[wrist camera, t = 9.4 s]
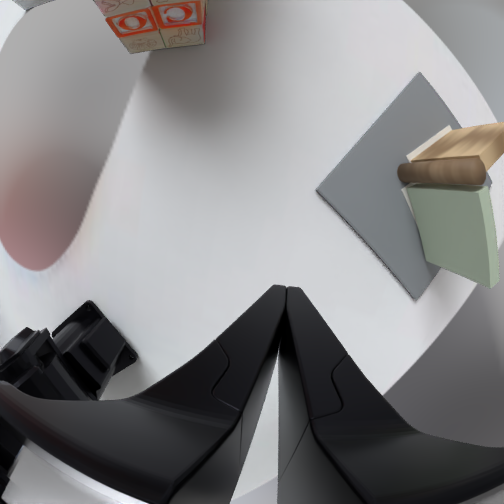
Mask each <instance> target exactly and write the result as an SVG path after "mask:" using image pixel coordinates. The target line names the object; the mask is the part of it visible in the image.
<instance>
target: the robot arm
mask: <svg viewBox="0 0 504 504" xmlns="http://www.w3.org/2000/svg"><path fill="white" fill-rule="evenodd" d="M88 305H89V306H90V307H91V309H90V308H89V307H88ZM56 334H57V335H56ZM52 337H53V339H52V338H51V337H50V333H49V331H48V329H47V328H45V329H43V330H41V331H39V330H37V331H33V330H32V329H30V328H28V327H26V328H25V329H23V330H22V331H21V332H19V333H18V334H17V335H16V336H15V337H13V338H12V339H11V340H10V341H9V342H8V343H7V344H6V345H5V346H4V348H3V349H2V350H1V351H0V504H230V501H231V498H232V496H233V493H234V490H235V488H236V485H237V482H238V479H239V476H240V474H241V471H242V468H243V465H244V462H245V459H246V456H247V454H248V451H249V448H250V445H251V442H252V439H253V436H254V433H255V429H256V426H257V423H258V420H259V417H260V414H261V411H262V407H263V404H264V401H265V398H266V394H267V391H268V388H269V384H270V381H271V377H272V374H273V370H274V367H275V363H276V360H277V356H278V381H279V441H278V497H277V504H504V447H501V448H499V447H497V448H496V447H484V446H478V445H473V444H468V443H463V442H458V441H454V440H449V439H445V438H441V437H437V436H433V435H429V434H425V433H423V432H420V431H418V430H416V429H415V428H413V427H412V426H411V425H409V424H408V423H407V422H406V421H405V420H404V419H403V418H402V417H401V416H400V415H399V413H398V412H396V410H395V409H394V408H393V407H392V406H391V405H390V404H389V403H388V402H387V400H386V399H385V398H384V397H383V396H382V395H381V394H380V393H379V392H378V390H377V389H376V388H375V387H374V386H373V385H372V384H371V382H370V381H369V380H368V379H367V378H366V377H365V375H364V374H363V373H362V371H361V370H360V369H359V368H358V366H357V365H356V364H355V362H354V361H353V359H352V358H351V357H350V355H348V353H347V351H346V350H345V348H344V347H343V346H342V344H341V343H340V341H339V340H338V339H337V337H336V336H335V334H334V333H333V332H332V330H331V329H330V327H329V326H328V325H327V323H326V322H325V320H324V319H323V318H322V316H321V315H320V314H319V312H318V311H317V309H316V308H315V307H314V305H313V304H312V303H311V301H310V300H309V298H308V297H307V296H306V294H305V293H304V292H303V290H302V289H301V288H300V287H291V286H289V287H287V288H286V286H283V285H272V286H271V287H270V288H269V289H268V290H267V291H266V292H265V293H264V294H263V295H262V296H261V297H260V298H259V299H258V300H257V301H256V302H255V303H254V304H253V305H252V306H251V307H249V308H248V309H247V310H246V311H245V312H244V313H243V314H242V315H241V316H240V317H239V318H238V319H237V320H236V321H235V322H233V323H232V324H231V325H230V326H229V327H228V328H227V329H226V330H225V331H224V332H223V333H222V334H220V335H219V336H218V337H217V338H216V340H214V341H213V342H211V343H210V344H209V345H208V346H207V347H206V348H205V349H204V350H202V351H201V352H200V353H199V354H198V355H196V356H195V357H194V358H192V359H191V360H190V361H188V362H187V363H185V364H184V365H183V366H181V367H180V368H178V369H177V370H175V371H174V372H172V373H171V374H169V375H168V376H166V377H165V378H163V379H162V380H160V381H158V382H157V383H155V384H154V385H152V386H151V387H149V388H147V389H146V390H144V391H142V392H141V393H139V394H137V395H134V396H132V397H129V398H126V399H121V400H100V401H99V399H100V397H101V395H102V394H103V392H104V390H105V388H106V386H107V384H108V382H109V380H110V379H111V377H112V376H113V375H115V374H116V373H118V372H120V371H121V370H123V369H125V368H126V367H128V366H130V365H131V364H133V363H134V362H136V360H137V358H138V355H137V354H136V352H135V351H134V350H133V349H132V348H131V347H130V346H129V345H128V343H127V342H126V341H125V339H124V338H123V337H122V336H121V335H120V334H119V333H118V331H117V330H116V329H115V328H114V327H113V325H112V324H111V323H110V322H109V321H108V319H107V318H105V316H104V315H103V314H102V313H101V311H100V310H99V309H98V308H97V306H96V305H95V304H94V303H93V302H92V301H90V300H88V301H86V302H85V303H84V304H83V305H82V306H81V307H79V308H78V309H77V310H76V311H75V312H74V313H73V314H72V315H70V316H69V317H68V318H67V319H66V320H65V321H64V322H63V323H62V324H61V325H59V326H58V327H57V328H56V329H55V330H54V331H53V332H52ZM278 350H279V354H278ZM130 355H131V356H133V357H134V358H132V357H130Z"/></svg>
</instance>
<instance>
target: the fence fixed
mask: <svg viewBox="0 0 504 504" xmlns="http://www.w3.org/2000/svg"><path fill="white" fill-rule="evenodd" d="M503 153H504V122H500V123H493V124H486V125H479V126H473V127H467V128H461V129H456V130H451V131H450V132H448V133H447V134H446V135H444V136H443V137H442V138H440V139H439V140H438V141H436V142H435V143H434V144H432V145H431V146H430V147H428V148H427V149H425V150H424V151H423V152H421V153H420V154H419V155H417V156H416V157H415V158H413V159H412V160H410V161H411V163H403V164H400V165H399V167H398V169H397V175H398V178H399V179H400V181H402V182H404V183H442V184H466V185H483V184H484V182H485V180H486V172H487V171H488V170H489V168H490V167H491V166H492V165H493V164H494V163H495V162H496V161H497V160H498V159H499V158H500V156H501V155H502V154H503Z"/></svg>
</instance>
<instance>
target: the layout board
mask: <svg viewBox="0 0 504 504" xmlns="http://www.w3.org/2000/svg"><path fill="white" fill-rule="evenodd" d="M461 128H462V127H461V126H460V124H459V123H458V121H457V120H456V118H455V117H454V115H453V114H452V112H451V111H450V110H449V108H448V107H447V105H446V104H445V103H444V101H443V100H442V99H441V97H440V96H439V95H438V93H437V92H436V91H435V90H434V88H433V87H432V86H431V85H430V83H429V82H428V81H427V80H426V78H425V77H424V76H423V75H422V74H421V73H420V72H419V73H417V74H416V76H415V77H414V78H413V79H412V80H411V81H410V82H409V84H408V85H407V86H406V87H405V88H404V89H403V91H402V92H401V93H400V94H399V95H398V96H397V97H396V99H395V100H394V101H393V102H392V103H391V104H390V105H389V107H388V108H387V109H386V110H385V111H384V112H383V113H382V115H381V116H380V117H379V118H378V119H377V120H376V121H375V123H374V124H373V125H372V126H371V127H370V128H369V129H368V131H367V132H366V133H365V134H364V135H363V136H362V137H361V139H360V140H359V141H358V142H357V143H356V144H355V145H354V147H353V148H352V149H351V150H350V151H349V152H348V153H347V154H346V156H345V157H344V158H343V159H342V160H341V161H340V162H339V164H338V165H337V166H336V167H335V168H334V169H333V170H332V171H331V173H330V174H329V175H328V176H327V177H326V178H325V179H324V181H323V182H322V183H321V184H320V185H319V186H318V187H317V188H316V191H317V192H318V193H319V194H320V195H321V196H322V197H323V198H324V199H325V200H326V201H327V202H328V203H329V204H330V205H331V206H332V207H333V208H334V209H335V210H336V211H337V212H338V213H339V214H340V215H341V216H342V217H343V218H344V219H345V220H346V221H347V222H348V223H349V224H350V225H351V227H352V228H353V229H354V230H355V231H356V232H357V233H358V234H359V235H360V236H361V237H362V238H363V240H364V241H365V242H366V243H367V244H368V245H369V246H370V247H371V248H372V250H373V251H374V252H375V253H376V254H377V255H378V256H379V257H380V259H381V260H382V261H383V262H384V263H385V264H386V266H387V267H388V268H389V269H390V270H391V271H392V273H393V274H394V275H395V276H396V277H397V279H398V280H399V281H400V282H401V283H402V285H403V286H404V287H405V288H406V290H407V291H408V292H409V293H410V294H411V296H412V297H413V298H414V299H415V300H416V301H417V299H418V298H419V297H420V295H421V294H422V293H423V292H424V290H425V289H426V288H427V286H428V285H429V284H430V282H431V281H432V280H433V278H434V277H435V276H436V274H437V273H438V272H439V270H440V269H441V267H440V266H437V265H435V264H432V263H430V262H428V261H426V258H425V253H424V249H423V245H422V240H421V236H420V232H419V229H418V225H417V221H416V217H415V214H414V210H413V207H412V204H411V200H410V197H409V194H408V191H407V188H408V187H410V186H412V185H414V184H416V183H404V182H402V181H400V179H399V178H398V175H397V169H398V167H399V165H400V164H403V163H411V161H410V160H412V159H413V158H415V157H416V156H417V155H419V154H420V153H421V152H423V151H424V150H425V149H427V148H428V147H430V146H431V145H432V144H434V143H435V142H436V141H438V140H439V139H440V138H442V137H443V136H444V135H446V134H447V133H448V132H450V131H451V130H456V129H461ZM430 184H442V183H430ZM491 184H492V181H491V179H490V177H489V175H488V173H487V172H486V180H485V182H484V184H483V185H476V186H488V188H490V186H491ZM458 185H466V184H458Z"/></svg>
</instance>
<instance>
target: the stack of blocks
mask: <svg viewBox="0 0 504 504" xmlns="http://www.w3.org/2000/svg"><path fill="white" fill-rule="evenodd" d="M93 1H94V2H95V3H96V5H97V6H98V7H99V9H100V10H101V12H102V13H103V15H104V16H105V20H106V22H107V23H108V25H109V26H110V27H111V29H112V30H113V32H114V33H115V34H116V36H117V37H118V38H119V39H120V41H121V42H122V43H123V45H124V46H125V47H126V48H127V50H128V52H129V53H130V54H133V53H139V52H145V51H150V50H156V49H163V48H173V47H181V46H191V45H199V44H204V43H205V20H206V18H205V16H206V15H207V3H208V0H93Z"/></svg>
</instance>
